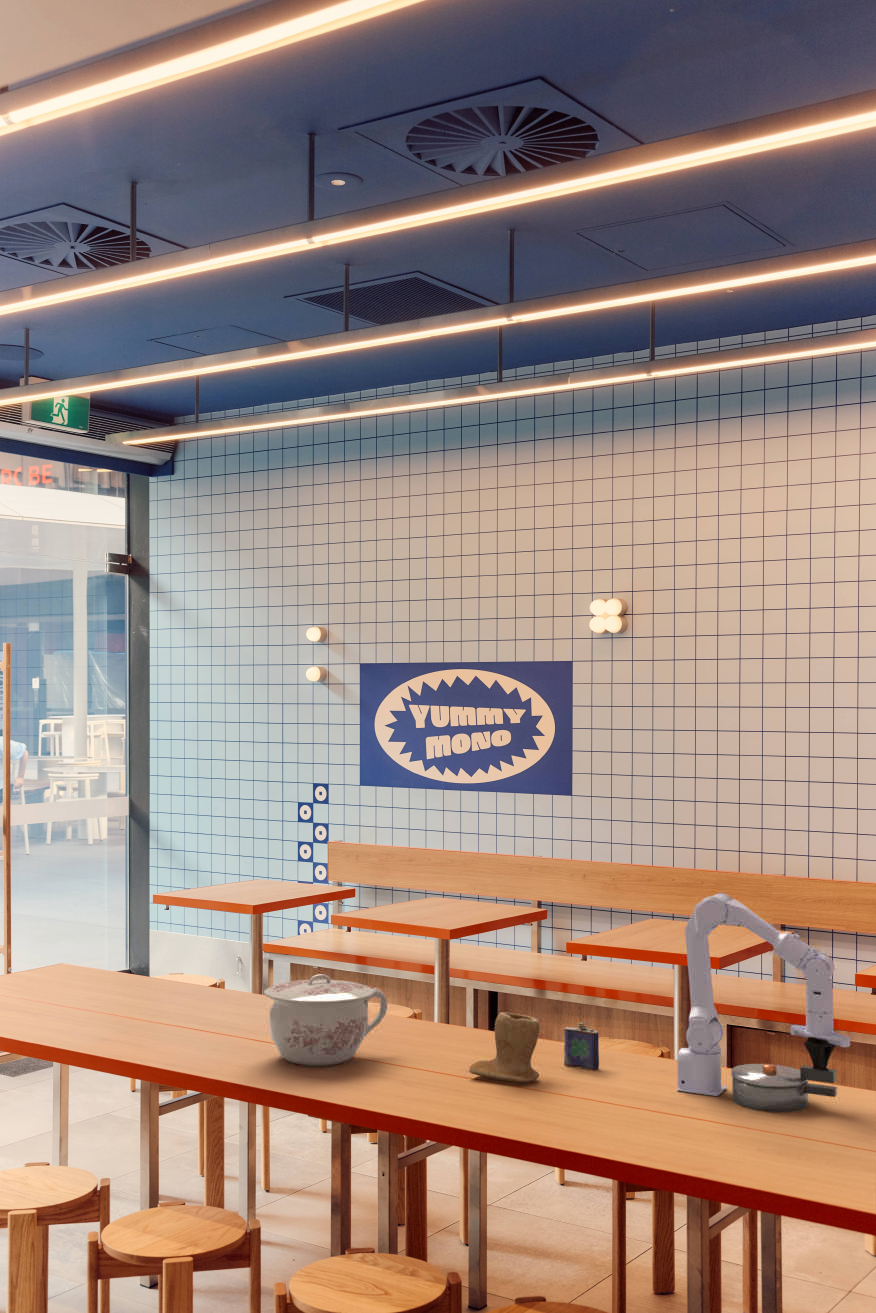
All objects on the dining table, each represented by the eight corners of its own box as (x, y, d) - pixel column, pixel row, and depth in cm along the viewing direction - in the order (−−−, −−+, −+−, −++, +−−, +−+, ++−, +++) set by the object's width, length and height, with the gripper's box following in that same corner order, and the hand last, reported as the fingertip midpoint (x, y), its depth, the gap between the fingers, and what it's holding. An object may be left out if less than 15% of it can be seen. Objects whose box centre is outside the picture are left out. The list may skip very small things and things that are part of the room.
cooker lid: (721, 1080, 265) (721, 1064, 265) (744, 1064, 279) (743, 1049, 279) (825, 1095, 254) (825, 1078, 254) (843, 1078, 268) (843, 1063, 268)
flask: (562, 1065, 298) (562, 1020, 299) (568, 1063, 300) (568, 1018, 301) (596, 1071, 292) (596, 1025, 293) (601, 1069, 295) (601, 1023, 296)
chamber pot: (242, 1068, 291) (244, 979, 293) (289, 1043, 317) (291, 962, 319) (352, 1078, 283) (353, 987, 284) (390, 1052, 309) (392, 969, 311)
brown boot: (548, 1077, 286) (549, 1012, 287) (525, 1089, 275) (526, 1021, 277) (491, 1068, 293) (492, 1005, 295) (467, 1079, 283) (468, 1013, 285)
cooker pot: (724, 1105, 264) (724, 1081, 264) (742, 1088, 278) (742, 1066, 278) (829, 1120, 254) (829, 1095, 254) (842, 1102, 268) (842, 1078, 268)
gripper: (781, 1006, 270) (781, 1069, 269) (834, 1018, 258) (835, 1084, 257) (802, 1003, 274) (803, 1065, 273) (856, 1015, 262) (857, 1080, 261)
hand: (820, 1074), depth 265 cm, fingers closed
